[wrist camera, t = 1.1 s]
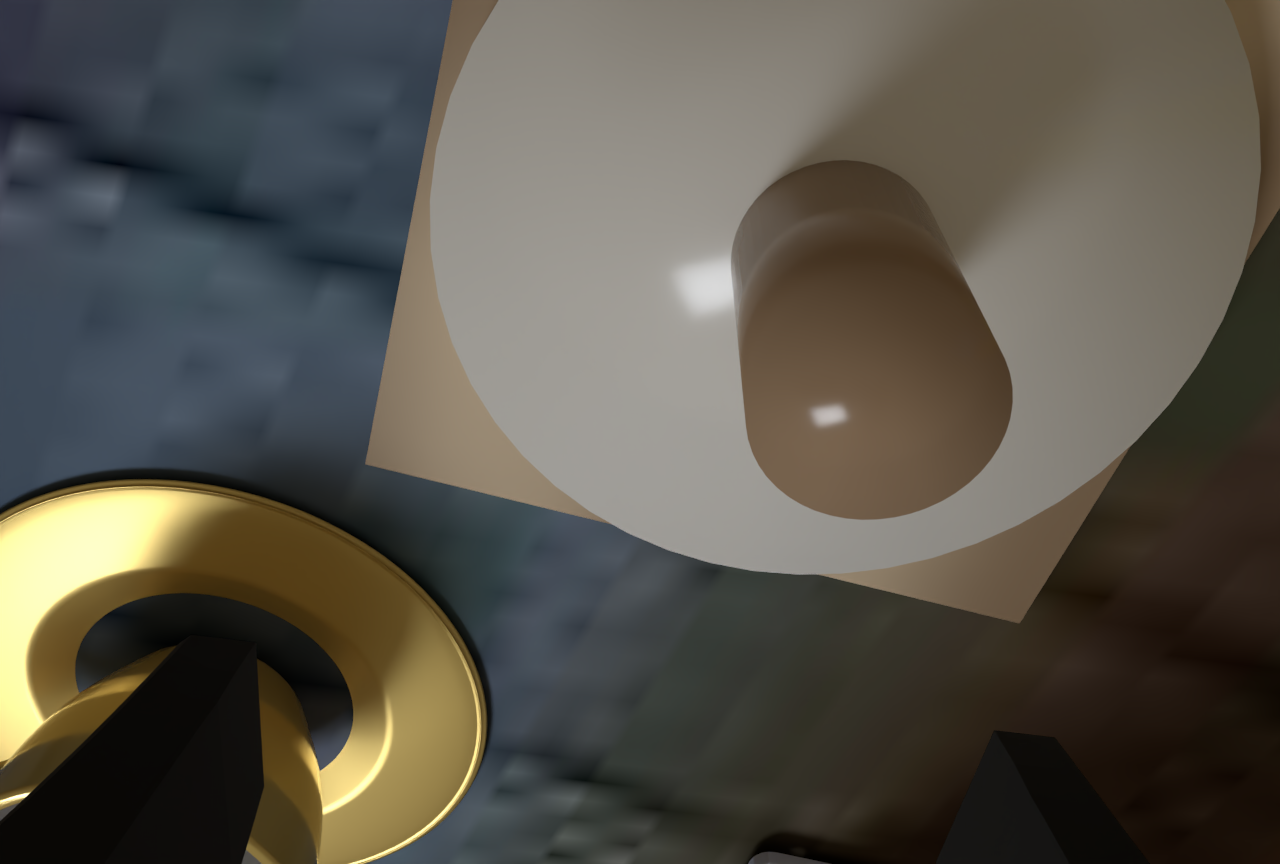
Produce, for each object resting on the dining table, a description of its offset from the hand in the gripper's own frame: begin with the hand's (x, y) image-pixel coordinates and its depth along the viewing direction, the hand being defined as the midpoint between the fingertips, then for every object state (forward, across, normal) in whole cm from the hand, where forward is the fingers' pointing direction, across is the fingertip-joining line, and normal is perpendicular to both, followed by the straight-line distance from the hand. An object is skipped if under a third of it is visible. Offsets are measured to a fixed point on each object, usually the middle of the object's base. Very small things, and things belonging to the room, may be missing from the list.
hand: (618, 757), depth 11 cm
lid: (+9, -3, -2) cm, 10 cm away
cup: (+10, +8, +11) cm, 17 cm away
